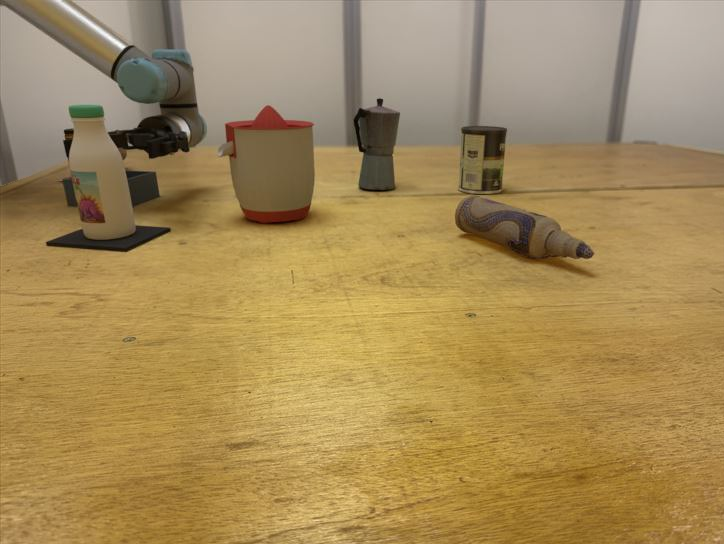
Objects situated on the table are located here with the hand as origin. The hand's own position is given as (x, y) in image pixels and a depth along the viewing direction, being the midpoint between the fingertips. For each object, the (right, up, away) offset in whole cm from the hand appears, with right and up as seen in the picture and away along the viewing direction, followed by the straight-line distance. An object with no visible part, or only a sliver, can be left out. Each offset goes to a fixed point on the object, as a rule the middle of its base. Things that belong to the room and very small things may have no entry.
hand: (108, 149), depth 89 cm
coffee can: (+66, +1, +40) cm, 77 cm away
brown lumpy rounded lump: (-31, +10, +59) cm, 67 cm away
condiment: (-31, +5, +47) cm, 57 cm away
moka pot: (+42, +2, +41) cm, 59 cm away
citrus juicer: (+23, -9, +15) cm, 29 cm away
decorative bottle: (+65, -17, -3) cm, 67 cm away
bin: (-12, -4, +26) cm, 29 cm away
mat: (0, -14, +1) cm, 14 cm away
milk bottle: (0, -14, +1) cm, 14 cm away
